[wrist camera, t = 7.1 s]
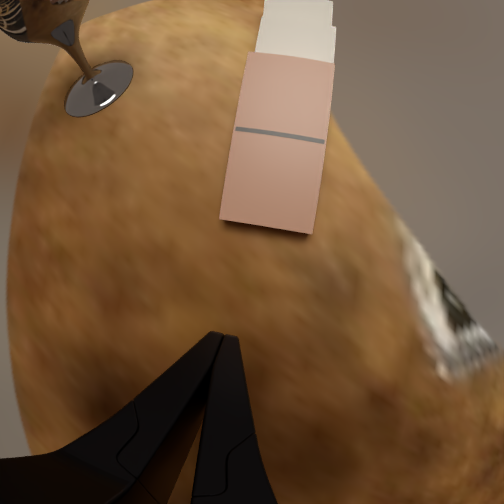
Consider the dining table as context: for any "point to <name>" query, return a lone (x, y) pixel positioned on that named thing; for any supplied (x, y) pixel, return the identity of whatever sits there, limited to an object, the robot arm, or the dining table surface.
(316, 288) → the dining table surface
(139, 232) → the dining table surface
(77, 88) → the wine glass
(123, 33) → the dining table surface
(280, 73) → the domino
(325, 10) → the domino
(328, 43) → the domino
